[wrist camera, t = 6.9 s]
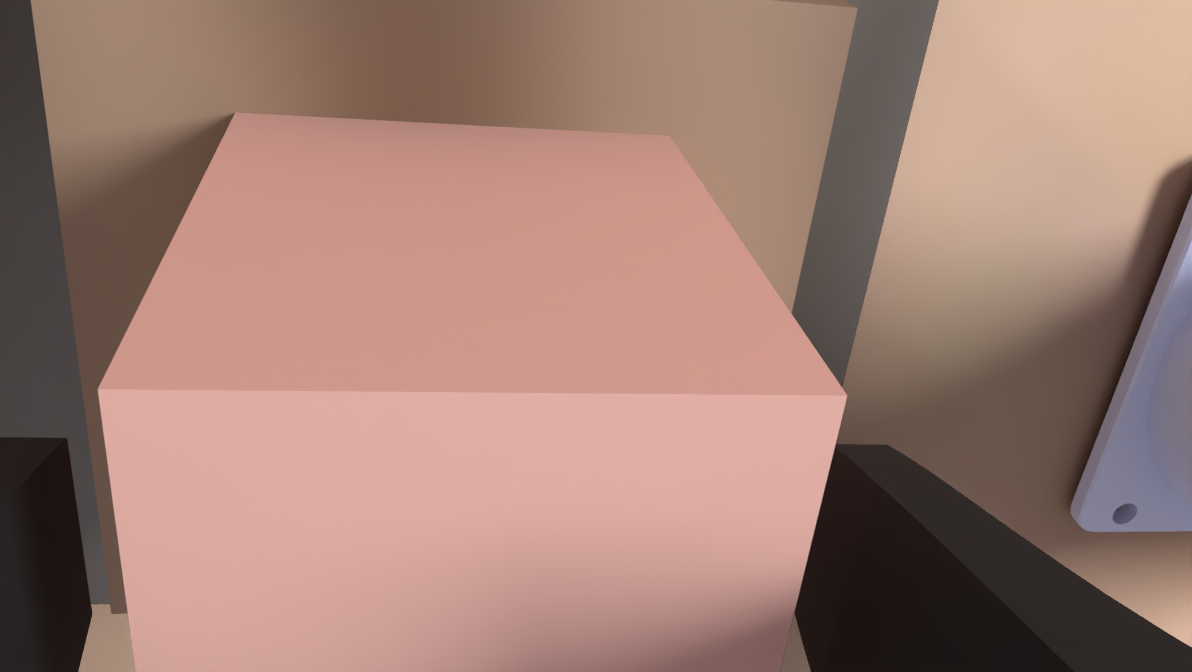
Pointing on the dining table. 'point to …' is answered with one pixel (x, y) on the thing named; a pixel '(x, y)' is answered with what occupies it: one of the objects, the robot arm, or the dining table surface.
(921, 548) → the robot arm
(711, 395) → the coral block
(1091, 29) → the dining table surface
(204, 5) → the base
